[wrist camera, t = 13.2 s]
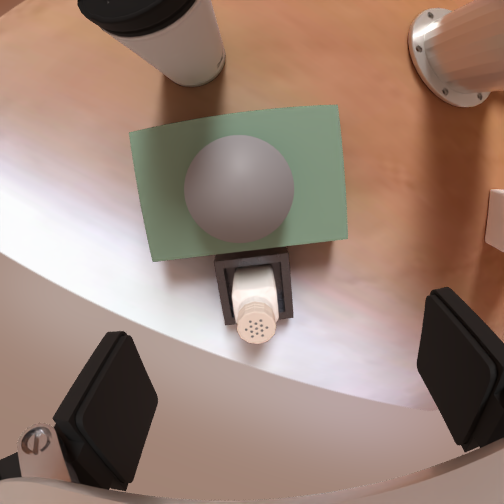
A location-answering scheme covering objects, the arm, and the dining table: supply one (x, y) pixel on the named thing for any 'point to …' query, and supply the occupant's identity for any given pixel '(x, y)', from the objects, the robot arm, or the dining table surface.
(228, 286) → the dark brown square tray
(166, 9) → the travel mug
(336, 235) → the green slab with dome
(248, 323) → the pepper shaker
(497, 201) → the medicine bottle
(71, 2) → the dining table surface
